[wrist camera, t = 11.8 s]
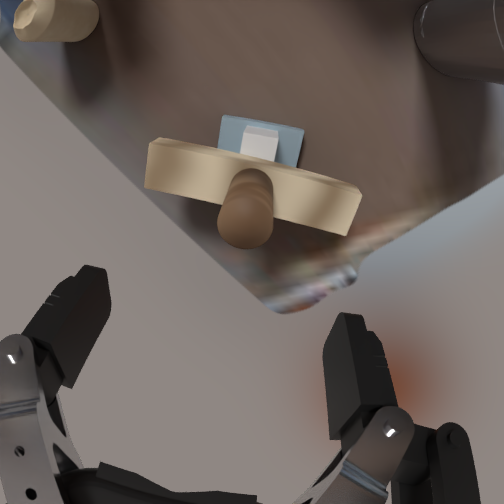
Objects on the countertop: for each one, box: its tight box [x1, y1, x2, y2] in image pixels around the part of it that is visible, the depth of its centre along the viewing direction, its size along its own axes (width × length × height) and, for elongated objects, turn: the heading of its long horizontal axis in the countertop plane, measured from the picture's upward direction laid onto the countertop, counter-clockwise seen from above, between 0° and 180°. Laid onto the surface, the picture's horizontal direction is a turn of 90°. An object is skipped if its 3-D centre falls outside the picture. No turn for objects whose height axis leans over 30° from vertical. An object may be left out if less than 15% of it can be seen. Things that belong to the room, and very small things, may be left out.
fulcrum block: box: [217, 115, 304, 168], centre depth 30 cm, size 8×9×6 cm
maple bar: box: [144, 137, 362, 249], centre depth 23 cm, size 18×4×9 cm, turn 77°
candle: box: [13, 0, 99, 42], centre depth 19 cm, size 6×6×10 cm
